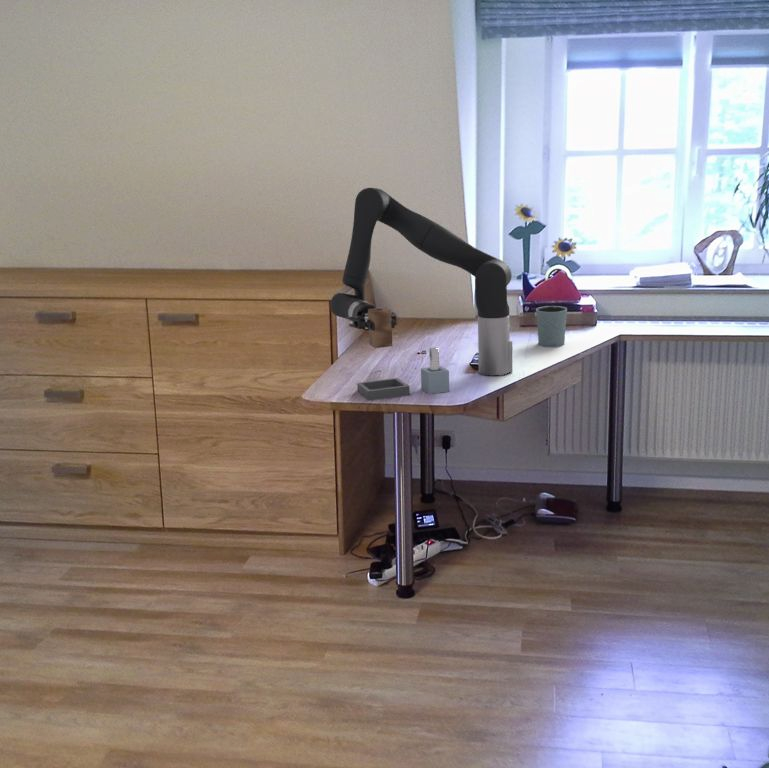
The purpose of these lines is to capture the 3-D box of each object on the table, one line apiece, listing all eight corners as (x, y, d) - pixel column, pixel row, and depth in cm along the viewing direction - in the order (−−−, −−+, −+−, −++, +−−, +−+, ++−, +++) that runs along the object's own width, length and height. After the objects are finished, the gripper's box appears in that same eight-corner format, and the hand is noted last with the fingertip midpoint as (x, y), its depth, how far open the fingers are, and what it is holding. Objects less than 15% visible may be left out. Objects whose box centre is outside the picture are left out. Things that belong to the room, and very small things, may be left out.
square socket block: (441, 386, 262) (440, 365, 261) (449, 391, 257) (448, 370, 255) (421, 388, 260) (420, 368, 259) (429, 394, 255) (428, 373, 253)
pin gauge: (437, 388, 260) (436, 347, 257) (441, 390, 258) (440, 348, 255) (429, 389, 259) (427, 348, 256) (432, 391, 257) (431, 349, 254)
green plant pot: (566, 340, 312) (567, 305, 308) (566, 347, 302) (567, 311, 299) (536, 340, 313) (536, 306, 310) (535, 347, 304) (535, 311, 301)
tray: (397, 386, 264) (397, 377, 264) (409, 394, 255) (409, 385, 255) (357, 391, 261) (357, 382, 260) (368, 400, 252) (368, 391, 251)
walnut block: (386, 342, 258) (385, 306, 255) (392, 346, 253) (391, 309, 250) (369, 344, 256) (367, 308, 253) (375, 348, 251) (373, 311, 249)
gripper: (339, 304, 263) (357, 314, 247) (387, 299, 267) (407, 309, 252) (341, 330, 265) (358, 342, 249) (388, 325, 269) (408, 336, 254)
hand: (383, 325), depth 251 cm, fingers closed on walnut block, 5 cm apart
